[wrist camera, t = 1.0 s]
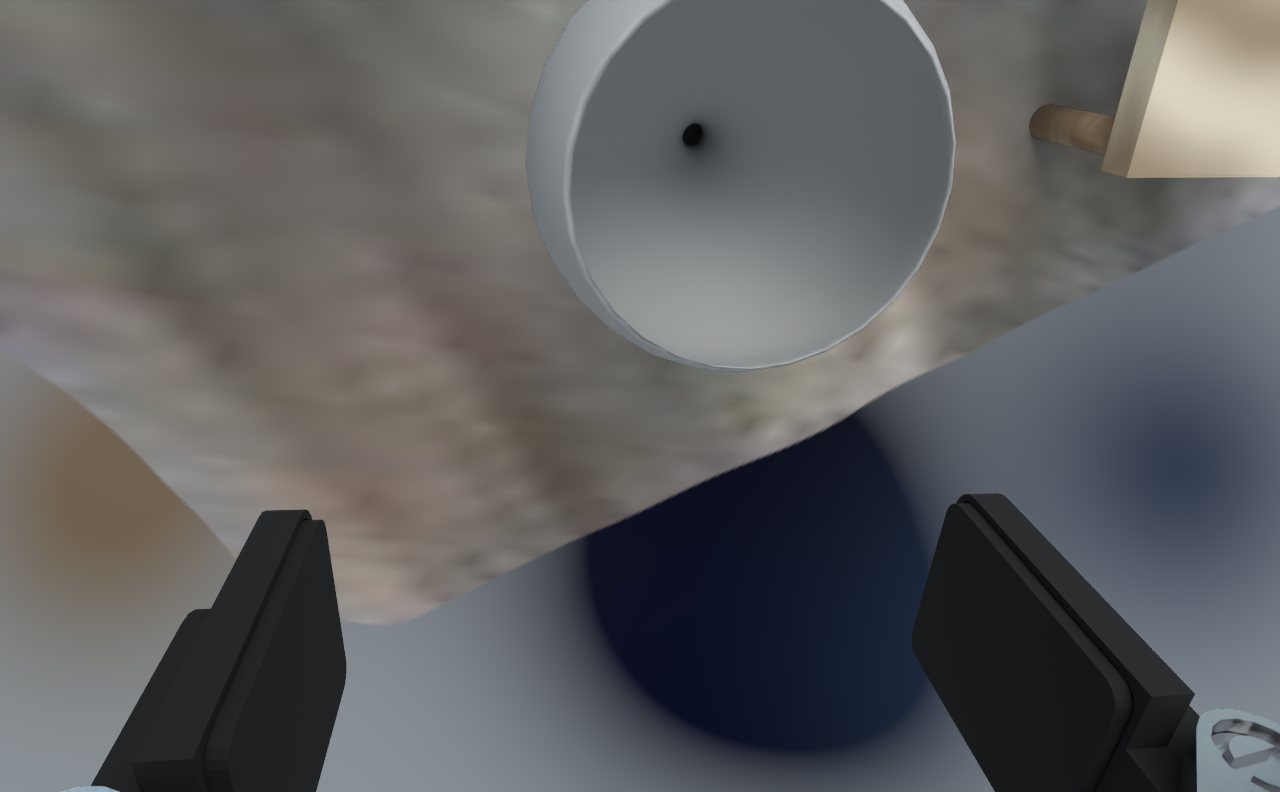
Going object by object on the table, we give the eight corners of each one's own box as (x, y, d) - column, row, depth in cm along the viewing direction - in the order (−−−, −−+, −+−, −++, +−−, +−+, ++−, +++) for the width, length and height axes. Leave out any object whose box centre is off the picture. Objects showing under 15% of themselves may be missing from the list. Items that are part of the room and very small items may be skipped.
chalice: (884, 66, 36) (1090, 97, 23) (722, 316, 41) (814, 465, 27) (625, -122, 31) (692, -220, 18) (476, 183, 36) (441, 284, 23)
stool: (1082, -144, 33) (1232, -187, 26) (1331, -133, 34) (1538, -170, 27) (1016, 147, 38) (1126, 178, 31) (1234, 147, 40) (1387, 176, 33)
